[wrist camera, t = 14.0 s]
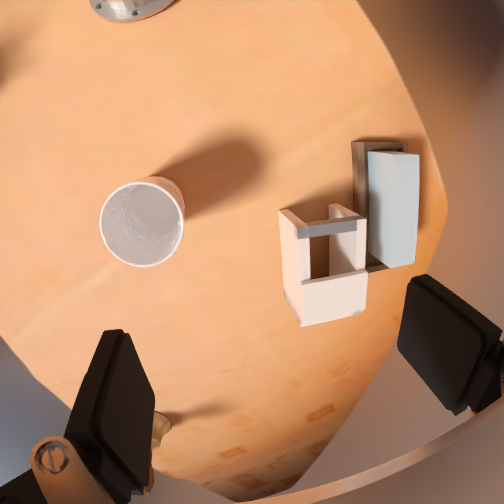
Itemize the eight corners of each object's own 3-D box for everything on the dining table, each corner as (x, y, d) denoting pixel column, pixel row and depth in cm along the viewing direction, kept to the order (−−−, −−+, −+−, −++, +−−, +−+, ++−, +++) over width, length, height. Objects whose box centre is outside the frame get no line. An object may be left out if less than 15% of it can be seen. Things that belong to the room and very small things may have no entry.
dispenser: (278, 210, 37) (299, 230, 29) (336, 203, 38) (370, 220, 30) (284, 294, 41) (303, 331, 33) (336, 284, 42) (364, 316, 34)
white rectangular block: (367, 151, 35) (393, 154, 30) (391, 150, 36) (419, 154, 30) (367, 251, 40) (390, 268, 35) (390, 247, 41) (414, 263, 35)
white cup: (200, 188, 35) (199, 205, 25) (172, 245, 37) (163, 280, 27) (141, 160, 32) (119, 166, 23) (116, 218, 34) (89, 245, 25)
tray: (351, 141, 35) (358, 142, 34) (399, 141, 36) (407, 142, 34) (352, 269, 42) (358, 274, 40) (396, 260, 43) (403, 265, 41)
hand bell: (141, 403, 45) (132, 478, 31) (179, 421, 48) (180, 494, 33) (121, 422, 47) (111, 490, 32) (157, 438, 50) (155, 504, 35)
